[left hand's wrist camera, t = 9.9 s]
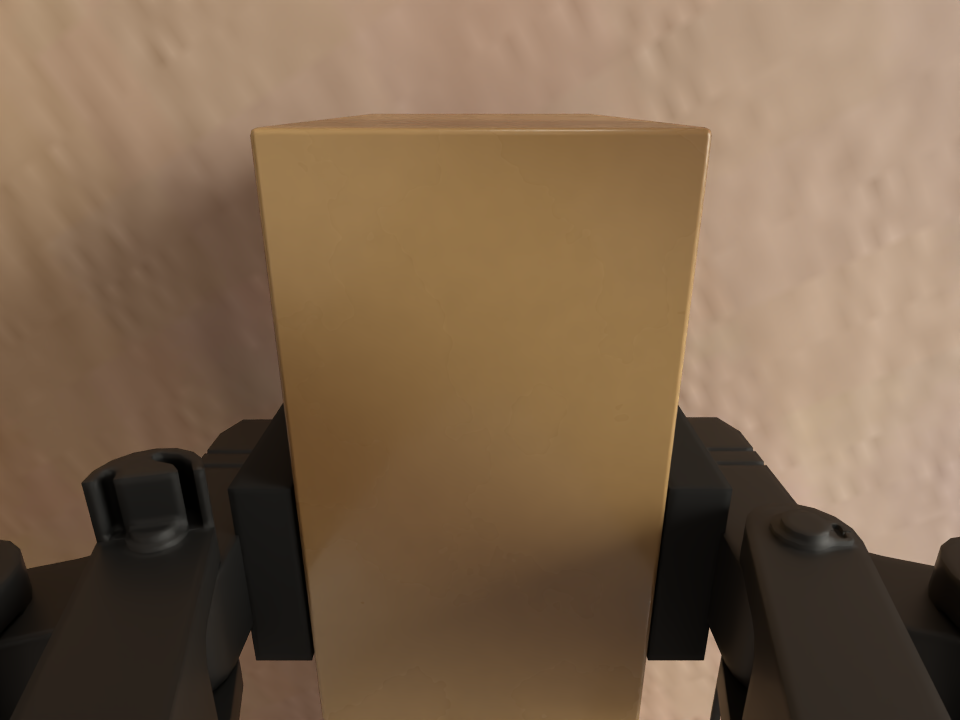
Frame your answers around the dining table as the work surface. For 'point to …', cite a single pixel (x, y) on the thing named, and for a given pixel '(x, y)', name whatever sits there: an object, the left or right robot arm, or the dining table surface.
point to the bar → (480, 399)
